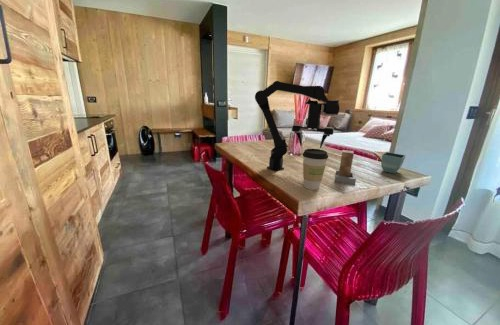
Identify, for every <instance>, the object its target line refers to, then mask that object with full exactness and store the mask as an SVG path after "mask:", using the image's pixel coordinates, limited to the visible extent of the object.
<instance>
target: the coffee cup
mask: <svg viewBox="0 0 500 325" xmlns="http://www.w3.org/2000/svg"><path fill="white" fill-rule="evenodd" d="M302 157H303V161H302V169H303V170H302V171H303V172H302V174H303V175H302V176H303V187H304V188H306V189H308V190H311V191H315V190H316V191H317V190H319V189H320V186H321V182H322V179H323V177H324V172H325V170H326V166H327V159H329V155H328V151H326V150H324V149H321V148H307V149H304V151H303V152H302Z"/></svg>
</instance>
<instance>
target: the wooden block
mask: <svg viewBox="0 0 500 325" xmlns="http://www.w3.org/2000/svg"><path fill="white" fill-rule="evenodd" d="M354 154H355V153H354V151H353V150H346V149H342V150H341V156H340V163H339V169H338V170H339V175H338V176H344V177H350V172H352V171H351V170H352V167H353V166H352V165H353V160H354Z"/></svg>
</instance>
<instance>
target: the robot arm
mask: <svg viewBox="0 0 500 325" xmlns="http://www.w3.org/2000/svg"><path fill="white" fill-rule="evenodd" d="M277 91H279V92H285V93H291V94H297V95H302V96H304V97H307V98H308V99H307V100H306V101H305V102H304V104H305V105H308V110H307V111H308V112H307V118H306V120H305V126H303V125H302V124H294V125H292V127H291V132H294V134H295V135H296V136H297V138H298V141H299V142H298V143H299V145H300V147H302V146H303V132H305V131H306V132H317V133H323V134H322V136H321V137H322V138H321V141H320V146H319V149H321V148H322V146H323V145H324V142H325V141H326V139H327V137H330V136H331V135H334V133H335V132H334V131H335V130H334V129H335V128H334V127H333V126H325V127H324V128H323V127H321V115H322V114H323V115H325V116H338V115H339V112H340V103H339V102H340V100H338V99H334V100H333V99H330V100H329V99H328V98H327V96H326V94H325V93H326V91H325V89H324V87H323V86H321V85H299V84H294V83H290V82H284V81H283V82H282V81H279V80H275V81H274V82H273V83H271V84H270V85H269V86H267V87H266V88H264V89H263V90H257V92H256V93H255V95H254V99H255V102H256V103H257V105H258V107H259V109H261V111H262V114H263V116H264V118H265V120H266V124H267V126H268V129H269V132H270V134H271V137H272V139H273V140H272V141H273V146H274V147H273V148H271V150H270V156H269V163H268V166H267V167H266V168H267V169H268V170H272V171H274V172H277V171H282V170H285V167H283V162H284V158H283V157H284V156H285V155H286V154H287V153H288V148H289V146H288V143H287V142H286V138H285V136H283V137H282V136H281V134H280V133H279V130H278V127H277V124H276V122H275V119H274V116H273V114H272V111H271V107H270V102H269V98H268V97H270V96H271V95H273V94H274V93H275V92H277ZM321 102H323V103H321Z"/></svg>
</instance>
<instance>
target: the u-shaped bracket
mask: <svg viewBox="0 0 500 325" xmlns="http://www.w3.org/2000/svg"><path fill="white" fill-rule="evenodd" d="M338 175H339V169H336V170H335V176H334V182H336V183H341V184H342V183H343V184H348V185H349V184H350V185H356V182H357V176H356V172H353V171H351V172H350V177H344V176H338Z"/></svg>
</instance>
